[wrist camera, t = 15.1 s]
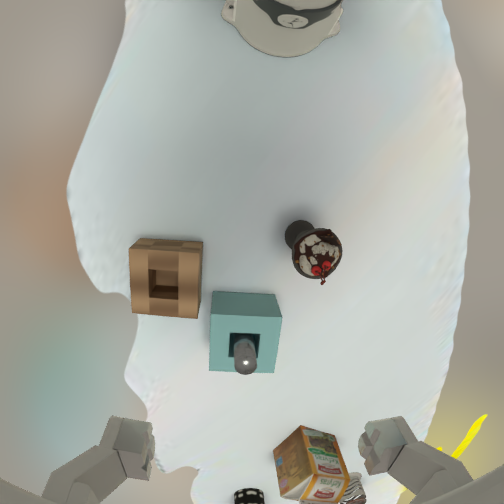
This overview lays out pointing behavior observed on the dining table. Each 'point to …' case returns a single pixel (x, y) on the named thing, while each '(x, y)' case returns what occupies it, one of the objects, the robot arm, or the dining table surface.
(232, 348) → the teal storage box
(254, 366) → the peg
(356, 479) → the french press
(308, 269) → the sundae
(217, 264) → the dining table surface
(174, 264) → the socket
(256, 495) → the spotted tube
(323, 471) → the milk carton
